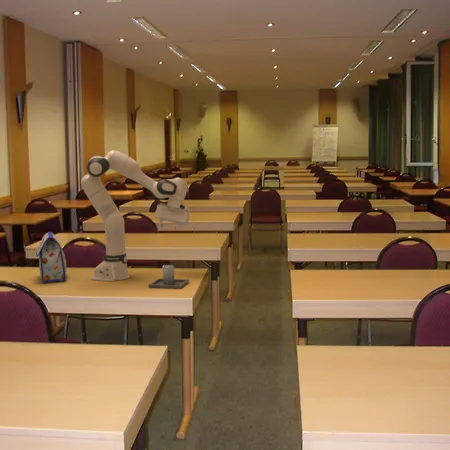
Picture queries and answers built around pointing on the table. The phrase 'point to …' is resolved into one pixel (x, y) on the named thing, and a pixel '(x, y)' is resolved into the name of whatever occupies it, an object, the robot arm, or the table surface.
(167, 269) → the grey upright cylinder
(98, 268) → the robot arm
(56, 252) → the lunch bag
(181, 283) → the tray
